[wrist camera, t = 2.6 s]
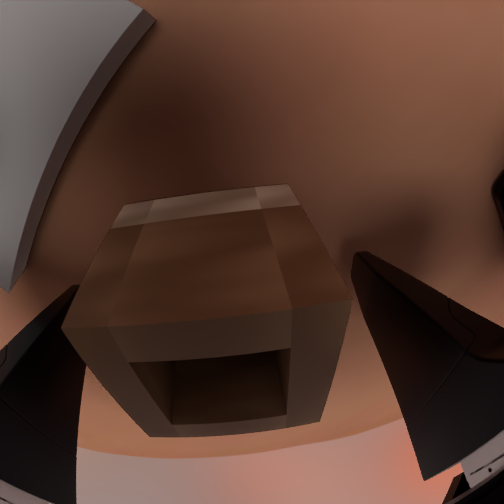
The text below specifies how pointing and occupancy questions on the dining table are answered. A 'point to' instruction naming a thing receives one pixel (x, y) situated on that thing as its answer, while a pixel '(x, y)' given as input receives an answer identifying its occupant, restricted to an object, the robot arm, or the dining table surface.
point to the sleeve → (213, 314)
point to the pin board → (50, 100)
